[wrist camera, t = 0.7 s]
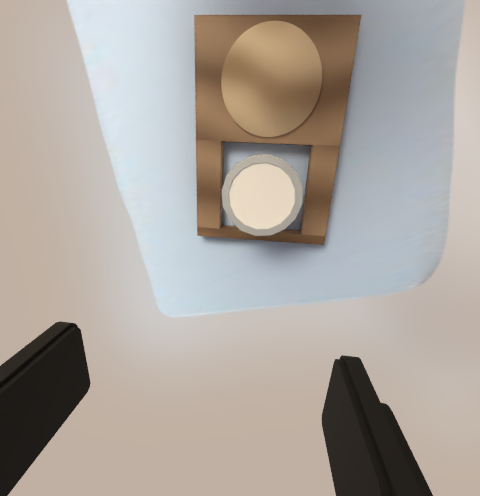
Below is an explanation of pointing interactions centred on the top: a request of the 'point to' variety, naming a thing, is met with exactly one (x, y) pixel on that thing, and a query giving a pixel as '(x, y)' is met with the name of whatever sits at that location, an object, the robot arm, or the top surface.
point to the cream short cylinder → (262, 195)
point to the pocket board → (271, 104)
